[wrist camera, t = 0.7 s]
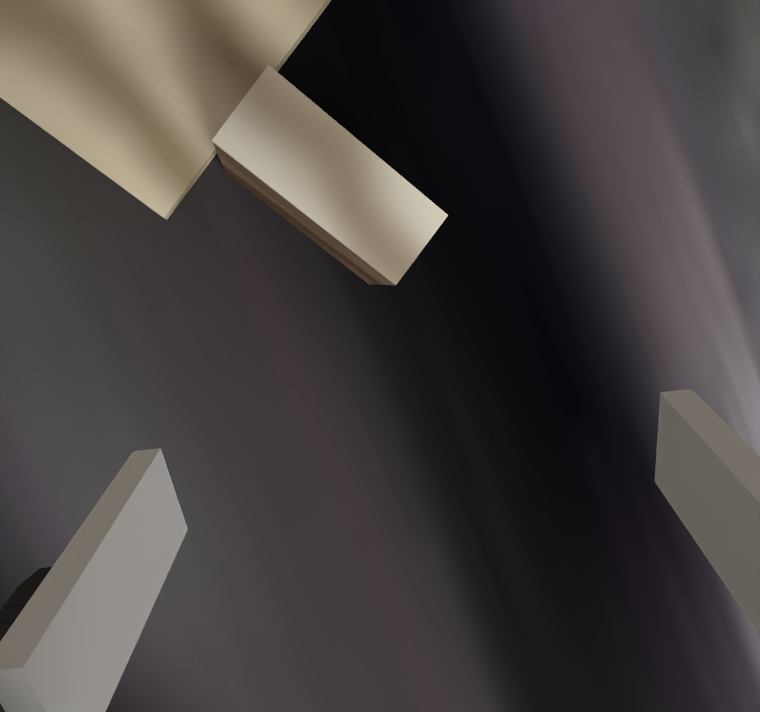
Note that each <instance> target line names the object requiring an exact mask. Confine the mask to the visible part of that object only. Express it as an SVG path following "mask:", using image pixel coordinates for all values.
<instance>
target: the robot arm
mask: <svg viewBox="0 0 760 712" xmlns="http://www.w3.org/2000/svg"><path fill="white" fill-rule="evenodd" d="M655 483H656V484H657V486H658V487H659V488H660V490H661V491H662V493H663V494H664V496H665V497H666V499H667V500H668V502H669V503H670V505H671V506H672V508H673V509H674V510H675V512H676V513H677V515H678V516H679V518H680V519H681V521H682V522H683V524H684V525H685V527H686V528H687V530H688V531H689V532H690V534H691V535H692V537H693V538H694V540H695V541H696V543H697V544H698V546H699V547H700V549H701V550H702V552H703V553H704V554H705V556H706V557H707V559H708V560H709V562H710V563H711V565H712V566H713V568H714V569H715V571H716V572H717V573H718V575H719V576H720V578H721V579H722V581H723V582H724V584H725V585H726V587H727V588H728V590H729V591H730V593H731V594H732V595H733V597H734V598H735V600H736V601H737V603H738V604H739V606H740V607H741V609H742V610H743V612H744V613H745V615H746V616H747V617H748V619H749V620H750V622H751V623H752V625H753V626H754V628H755V629H756V631H757V632H758V634H759V635H760V456H759V455H758V454H757V453H756V452H755V451H754V450H753V449H752V448H751V447H749V446H748V445H747V444H746V443H745V442H744V441H743V440H742V439H741V438H740V437H739V436H738V435H737V434H736V433H735V432H734V431H733V430H732V429H731V428H730V427H729V426H728V425H727V424H726V423H725V422H724V421H723V420H722V419H721V418H720V417H719V416H718V415H717V414H716V413H715V412H714V411H713V410H712V409H711V408H710V407H709V406H708V405H707V404H706V403H705V402H704V401H703V400H702V399H701V398H700V397H699V396H698V395H697V394H696V393H695V392H694V391H693V390H692V389H687V390H678V391H669V392H660V407H659V422H658V438H657V454H656V469H655ZM187 530H188V529H187V526H186V523H185V520H184V517H183V514H182V511H181V508H180V505H179V502H178V499H177V496H176V493H175V490H174V487H173V484H172V481H171V478H170V475H169V472H168V469H167V466H166V463H165V460H164V457H163V454H162V451H161V448H160V449H151V450H142V451H133V452H132V454H131V455H130V457H129V458H128V459H127V461H126V462H125V464H124V465H123V467H122V468H121V469H120V471H119V472H118V474H117V475H116V477H115V478H114V479H113V481H112V482H111V484H110V485H109V487H108V488H107V489H106V491H105V492H104V494H103V495H102V497H101V498H100V500H99V501H98V502H97V504H96V505H95V507H94V508H93V510H92V511H91V512H90V514H89V515H88V517H87V518H86V520H85V521H84V522H83V524H82V525H81V527H80V528H79V530H78V531H77V532H76V534H75V535H74V537H73V538H72V540H71V541H70V543H69V544H68V545H67V547H66V548H65V550H64V551H63V553H62V554H61V555H60V557H59V558H58V560H57V561H56V563H55V564H54V565H53V567H48V568H39V569H38V570H37V571H36V572H35V573H34V574H32V575H31V576H30V577H29V578H28V579H26V580H25V581H24V582H23V583H22V584H21V585H19V586H18V587H17V589H16V590H15V591H14V593H13V594H12V595H11V597H10V598H9V600H8V601H7V602H6V604H5V605H4V606H3V611H0V712H106V710H107V707H108V705H109V703H110V701H111V699H112V696H113V694H114V692H115V690H116V687H117V685H118V683H119V681H120V679H121V676H122V674H123V672H124V670H125V667H126V665H127V663H128V661H129V659H130V656H131V654H132V652H133V650H134V647H135V645H136V643H137V641H138V639H139V636H140V634H141V632H142V630H143V628H144V625H145V623H146V621H147V619H148V616H149V614H150V612H151V610H152V608H153V605H154V603H155V601H156V599H157V596H158V594H159V592H160V590H161V588H162V585H163V583H164V581H165V579H166V577H167V574H168V572H169V570H170V568H171V565H172V563H173V561H174V559H175V557H176V554H177V552H178V550H179V548H180V545H181V543H182V541H183V539H184V537H185V534H186V532H187Z"/></svg>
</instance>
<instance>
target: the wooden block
mask: <svg viewBox="0 0 760 712" xmlns="http://www.w3.org/2000/svg"><path fill="white" fill-rule="evenodd" d="M212 142H213V145H214V147H215V149H216V151H217V154H218V156H219V158H220V160H221V163H222V165H223V167H224V169H225V172H226V174H228V175H229V176H230V177H232V178H233V179H234V180H235V181H237V182H238V183H239V184H241V185H242V186H243V187H244V188H246V189H247V190H248V191H250V192H251V193H252V194H254V195H255V196H256V197H257V198H259V199H260V200H261V201H263V202H264V203H265V204H266V205H268V206H269V207H270V208H272V209H273V210H274V211H275V212H277V213H278V214H279V215H281V216H282V217H283V218H284V219H286V220H287V221H288V222H290V223H291V224H292V225H293V226H295V227H296V228H297V229H299V230H300V231H301V232H302V233H304V234H305V235H306V236H308V237H309V238H310V239H311V240H313V241H314V242H315V243H317V244H318V245H319V246H320V247H322V248H323V249H324V250H326V251H327V252H328V253H330V254H331V255H332V256H333V257H335V258H336V259H337V260H339V261H340V262H341V263H342V264H344V265H345V266H346V267H348V268H349V269H350V270H351V271H353V272H354V273H355V274H357V275H358V276H359V277H360V278H362V279H363V280H364V281H366V282H367V283H368V284H380V285H396V284H397V283H398V282H399V280H400V279H401V278H402V276H403V275H404V274H405V272H406V271H407V270H408V268H409V267H410V266H411V264H412V263H413V262H414V260H415V259H416V258H417V256H418V255H419V254H420V252H421V251H422V250H423V248H424V247H425V245H426V244H427V243H428V241H429V240H430V239H431V237H432V236H433V235H434V233H435V232H436V231H437V229H438V228H439V227H440V225H441V224H442V223H443V221H444V220H445V219H446V217H447V216H448V215H447V214H446V213H445V212H444V211H442V210H441V209H440V208H439V207H438V206H436V205H435V204H434V203H433V202H432V201H430V200H429V199H428V198H427V197H426V196H425V195H423V194H422V193H421V192H420V191H419V190H417V189H416V188H415V187H414V186H413V185H411V184H410V183H409V182H408V181H407V180H405V179H404V178H403V177H402V176H401V175H399V174H398V173H397V172H396V171H395V170H394V169H392V168H391V167H390V166H389V165H388V164H386V163H385V162H384V161H383V160H382V159H380V158H379V157H378V156H377V155H376V154H374V153H373V152H372V151H371V150H370V149H368V148H367V147H366V146H365V145H364V144H362V143H361V142H360V141H359V140H358V139H357V138H355V137H354V136H353V135H352V134H351V133H349V132H348V131H347V130H346V129H345V128H343V127H342V126H341V125H340V124H339V123H337V122H336V121H335V120H334V119H333V118H331V117H330V116H329V115H328V114H327V113H326V112H324V111H323V110H322V109H321V108H320V107H318V106H317V105H316V104H315V103H314V102H312V101H311V100H310V99H309V98H308V97H306V96H305V95H304V94H303V93H302V92H300V91H299V90H298V89H297V88H296V87H294V86H293V85H292V84H291V83H290V82H289V81H287V80H286V79H285V78H284V77H283V76H281V75H280V74H279V73H278V72H277V71H275V70H274V69H273V68H272V67H271V66H269V65H268V66H267V67H266V69H265V70H264V71H263V73H262V74H261V75H260V77H259V78H258V79H257V81H256V82H255V83H254V85H253V86H252V87H251V89H250V90H249V91H248V93H247V94H246V95H245V97H244V98H243V99H242V101H241V102H240V103H239V105H238V106H237V107H236V109H235V110H234V111H233V113H232V114H231V115H230V117H229V118H228V119H227V121H226V122H225V123H224V125H223V126H222V127H221V129H220V130H219V131H218V133H217V134H216V135H215V137H214V138H213V139H212Z"/></svg>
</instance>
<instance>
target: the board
mask: <svg viewBox="0 0 760 712" xmlns="http://www.w3.org/2000/svg"><path fill="white" fill-rule="evenodd" d="M330 1H331V0H0V98H2V99H3V100H4V101H6V102H7V103H9V104H10V105H11V106H13V107H14V108H15V109H17V110H18V111H19V112H21V113H22V114H23V115H25V116H26V117H28V118H29V119H30V120H32V121H33V122H34V123H36V124H37V125H38V126H40V127H41V128H42V129H44V130H45V131H46V132H48V133H49V134H51V135H52V136H53V137H55V138H56V139H57V140H59V141H60V142H61V143H63V144H64V145H65V146H67V147H68V148H70V149H71V150H72V151H74V152H75V153H76V154H78V155H79V156H80V157H82V158H83V159H84V160H86V161H87V162H89V163H90V164H91V165H93V166H94V167H95V168H97V169H98V170H99V171H101V172H102V173H103V174H105V175H106V176H108V177H109V178H110V179H112V180H113V181H114V182H116V183H117V184H118V185H120V186H121V187H122V188H124V189H125V190H127V191H128V192H129V193H131V194H132V195H133V196H135V197H136V198H137V199H139V200H140V201H141V202H143V203H144V204H145V205H147V206H148V207H150V208H151V209H152V210H154V211H155V212H156V213H158V214H159V215H160V216H162V217H163V218H165V219H168V218H169V216H170V215H171V214H172V212H173V211H174V210H175V208H176V207H177V206H178V204H179V203H180V202H181V200H182V199H183V198H184V196H185V195H186V194H187V192H188V191H189V190H190V188H191V187H192V186H193V184H194V183H195V182H196V180H197V179H198V178H199V176H200V175H201V174H202V172H203V171H204V170H205V168H206V167H207V166H208V164H209V163H210V162H211V160H212V159H213V158H214V156H215V155H216V154H217V151H216V149H215V147H214V145H213V142H212V139H213V138H214V137H215V135H216V134H217V133H218V131H219V130H220V129H221V127H222V126H223V125H224V123H225V122H226V121H227V119H228V118H229V117H230V115H231V114H232V113H233V111H234V110H235V109H236V107H237V106H238V105H239V103H240V102H241V101H242V99H243V98H244V97H245V95H246V94H247V93H248V91H249V90H250V89H251V87H252V86H253V85H254V83H255V82H256V81H257V79H258V78H259V77H260V75H261V74H262V73H263V71H264V70H265V69H266V67H267V66H268V65H269V66H271V67H272V68H273V69H274V70H275V71H277V72H278V71H279V69H280V68H281V67H282V65H283V64H284V63H285V61H286V60H287V59H288V57H289V56H290V55H291V53H292V52H293V51H294V49H295V48H296V47H297V45H298V44H299V43H300V41H301V40H302V39H303V37H304V36H305V35H306V33H307V32H308V31H309V29H310V28H311V27H312V25H313V24H314V23H315V21H316V20H317V19H318V17H319V16H320V15H321V13H322V12H323V11H324V9H325V8H326V7H327V5H328V4H329V3H330Z"/></svg>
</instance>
